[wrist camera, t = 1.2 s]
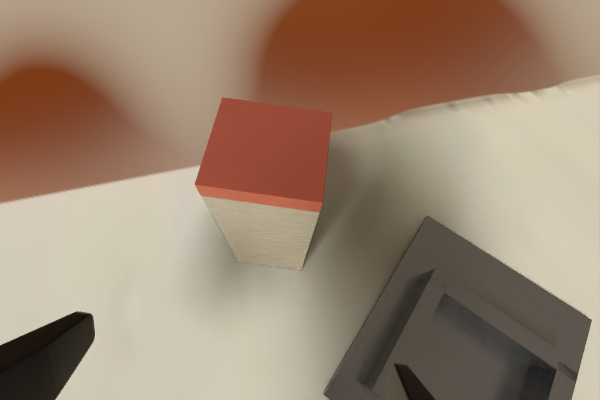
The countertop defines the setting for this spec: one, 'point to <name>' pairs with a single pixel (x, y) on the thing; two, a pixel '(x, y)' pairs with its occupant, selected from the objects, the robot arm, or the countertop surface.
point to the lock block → (266, 179)
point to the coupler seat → (464, 329)
